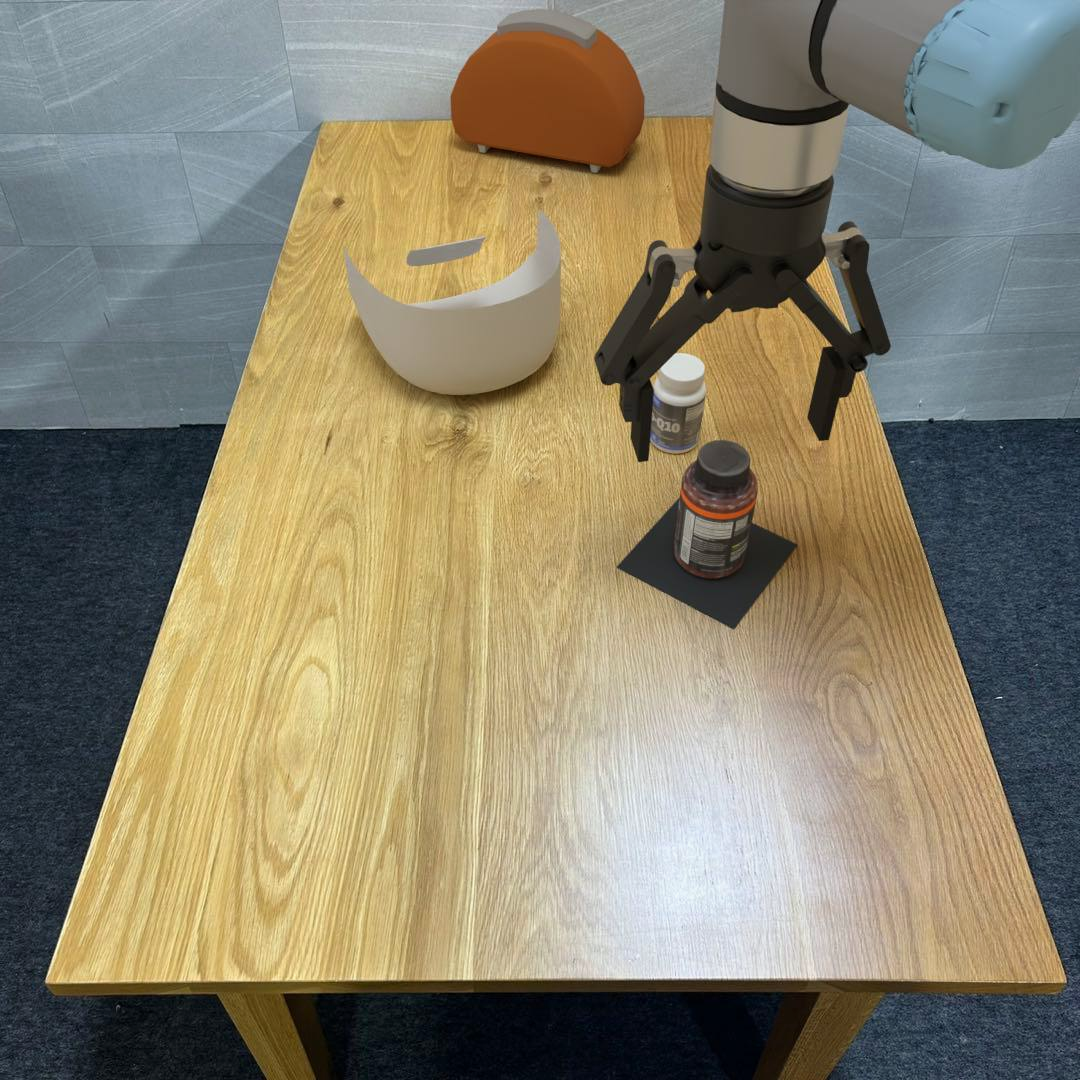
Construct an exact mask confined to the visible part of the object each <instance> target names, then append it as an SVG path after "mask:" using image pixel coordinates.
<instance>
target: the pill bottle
mask: <svg viewBox="0 0 1080 1080" xmlns="http://www.w3.org/2000/svg"><path fill="white" fill-rule="evenodd" d="M657 374H658V375H657V377H656V379H654V383H653V385H652V386H653V389H654V397H653V410H652V422H651V435H650V443H651V444H652V445H653V446H655V447H656V448H657V449H658V450H660V451H662V452H664V453H668V454H673V455H674V454H675V455H676V454H684V453H687V452H689V451H692V450H694V449H695V447H697V445H698V444H699V442H700V438H701V431H702V425H703V423H702V422H703V416H704V411H705V404H706V396H707V386H706V385H707V384H706V383H705V381H704V380H705V374H706V366H705V364H704V362H703V361H702V360H701V359H700V358H699V357H698V356H695V355H693V354H690V353H684V352H676V353H675V354H674V355H673V356H672V357H671V358H670V359H669V360H668V361H667V362H666V363H665V364H664V365H663V366H662V367H661V368H660V369H659V370H658V373H657Z"/></svg>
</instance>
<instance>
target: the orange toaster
mask: <svg viewBox="0 0 1080 1080" xmlns="http://www.w3.org/2000/svg"><path fill="white" fill-rule="evenodd" d="M450 93H451V94H450V118H451V122H452V126H453V130H454V133H455V134H456V135H457V136H458V137H459V138H460V139H461V140H462V141H463V142H465V143H470V144H473V145H474V144H475V145H477V148H478V152H479V153H482V154H486V153H487V152H488V150H490V148H495V149H501V150H507V151H513V152H518V153H523V154H530V155H535V156H539V157H545V158H551V159H552V158H553V159H558V160H564V161H568V162H574V163H579V164H585V165H589V169H590V172H591V173H594V174H598V173H599V171H600V170H601V168H602V167H604V168H612V167H614V166H615V165H617V164H618V163H620V162H621V161H623V159H624V158H625V156H627V153H628V152H629V150H630V149H631V148H632V147H633V145H634V144H635V142H636V140H637V139H638V137H639V136H640V134H641V131H642V129H643V126H644V125H643V124H644V120H645V101H646V100H645V99H646V98H645V94H644V91H643V89H642V85H641V82H640V79H639V78H638V75H637V71H636V70H635V68H634V67H633V65H632V62H631V61H630V59H629V58H628V56H627V54H626V52H625V51H624V50H623V49H622V48H621V47H620V46H619V45H618V44H617V43H616V42H615V41H614V40H613V39H611V37H609V36H608V34H606V33H604V32H603V31H601V30H600V29H599V28H597V27H596V26H595V25H593V24H592V23H590V22H588V21H586V20H584V19H582V18H580V17H577V16H574V15H572V14H569V13H567V12H562V11H559V10H554V9H541V8H540V9H539V8H537V9H528V10H527V9H525V10H520V11H515V12H512V13H509V14H508V15H506V16H505V17H504V18H503V19H502V20H501V21H500V22H499V23H498V24H497V25H496V31H495V32H493V33H492V34H491V35H490V36H489V37H488V38H487V39H486V40H485V41H484V42H483V43H482V44H481V45H479V47H478V48H476V49H475V51H474V52H473V53H471V55H470V56H469V57H468V59H466V62H465V63H464V65H463V67H462V68H461V70H460V72H459V73H458V75H457V78H456V81H455V83H454V85H453V89H452V91H451V92H450Z"/></svg>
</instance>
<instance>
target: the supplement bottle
mask: <svg viewBox="0 0 1080 1080" xmlns="http://www.w3.org/2000/svg"><path fill="white" fill-rule="evenodd" d="M750 466H751V456H750V454H749V451H748V450H747V449H746V448H745V447H744V446H743V445H741V444H740V443H738V442H735V441H732V440H727V439H716V440H711V441H709V442H707V443H704V444H703V445H702V446H701V447H700V449H699V450H698V452H697V457H696V460H694V461H693V462H691V463H690V464H689V465H688V466H687V467H686V469H685V471H684V472H683V475H682V477H681V482H680V483H681V484H680V490H679V497H680V498H679V497H678V499H679V508H678V517H677V524H676V533H675V541H674V552H675V556H676V560H677V561H678V563H679V564H680V565H681V566H682V567H683V568H684V569H685V570H686V571H688V572H689V573H691V574H693V575H695V576H698V577H701V578H708V579H718V578H723V577H726V576H729V575H731V574H732V573H734V572H735V571H737V570H738V569H739V568H740V566H741V565H742V563H743V561H744V558H745V555H746V550H747V545H748V540H749V535H750V530H751V525H752V523H753V519H754V515H755V510H756V504H757V498H758V492H759V483H758V478H757V477H756V476H757V475H755V473H754V471H753V470H752V468H751V467H750Z"/></svg>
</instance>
